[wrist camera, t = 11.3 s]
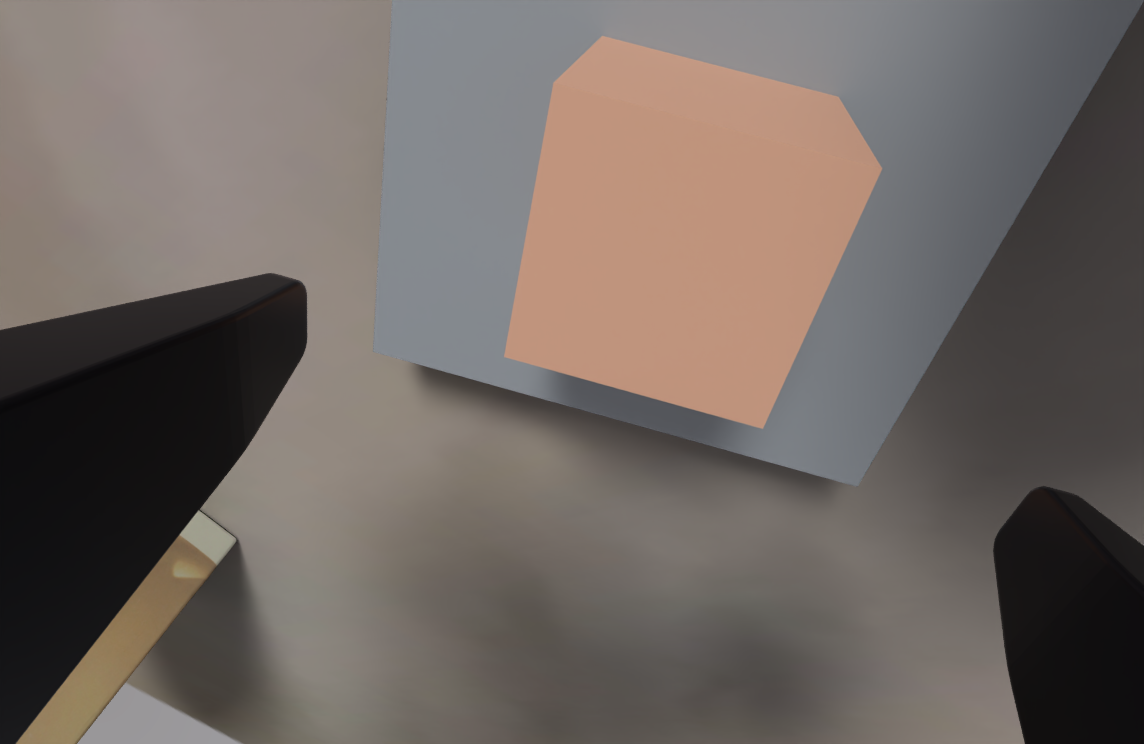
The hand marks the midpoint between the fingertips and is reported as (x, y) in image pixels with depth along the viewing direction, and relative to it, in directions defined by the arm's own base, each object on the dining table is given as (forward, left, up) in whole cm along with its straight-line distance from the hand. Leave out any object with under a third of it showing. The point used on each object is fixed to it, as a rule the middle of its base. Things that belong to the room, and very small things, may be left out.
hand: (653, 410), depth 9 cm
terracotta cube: (0, 0, -9) cm, 9 cm away
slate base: (0, 0, -12) cm, 12 cm away
